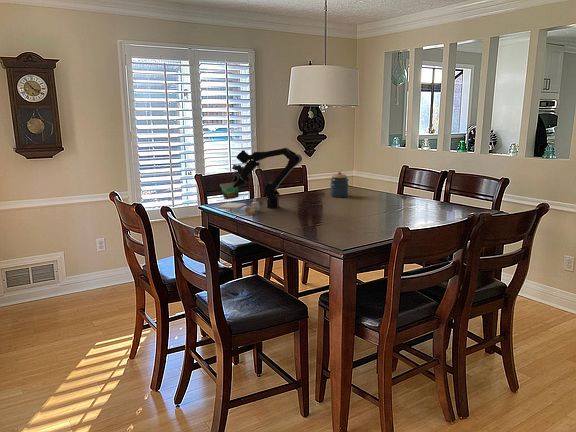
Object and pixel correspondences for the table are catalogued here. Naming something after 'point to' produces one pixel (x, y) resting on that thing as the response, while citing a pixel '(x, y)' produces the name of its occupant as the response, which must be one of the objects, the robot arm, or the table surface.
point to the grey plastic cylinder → (255, 205)
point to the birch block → (249, 210)
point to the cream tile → (232, 205)
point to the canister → (339, 185)
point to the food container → (229, 190)
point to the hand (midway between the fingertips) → (232, 186)
